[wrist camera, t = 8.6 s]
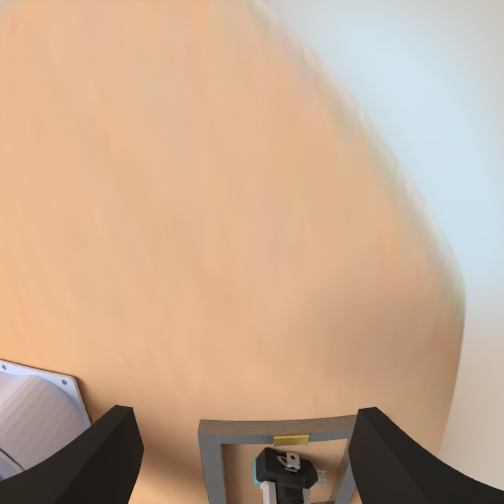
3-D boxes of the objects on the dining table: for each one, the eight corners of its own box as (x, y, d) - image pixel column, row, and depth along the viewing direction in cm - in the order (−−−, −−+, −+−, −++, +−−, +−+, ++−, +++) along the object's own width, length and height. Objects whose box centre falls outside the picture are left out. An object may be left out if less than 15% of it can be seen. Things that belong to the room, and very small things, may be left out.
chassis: (213, 509, 24) (212, 523, 22) (200, 419, 21) (197, 436, 19) (341, 504, 24) (344, 516, 22) (372, 412, 21) (379, 427, 19)
